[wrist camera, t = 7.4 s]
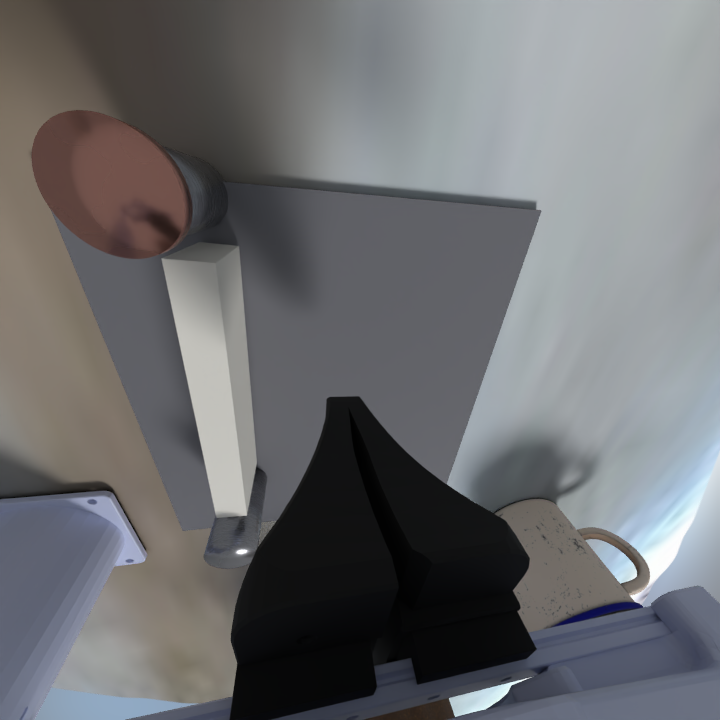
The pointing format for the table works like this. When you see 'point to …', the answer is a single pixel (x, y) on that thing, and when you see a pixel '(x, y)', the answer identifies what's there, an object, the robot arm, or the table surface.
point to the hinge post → (238, 531)
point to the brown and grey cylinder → (123, 185)
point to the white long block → (216, 366)
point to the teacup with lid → (567, 568)
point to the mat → (320, 326)
